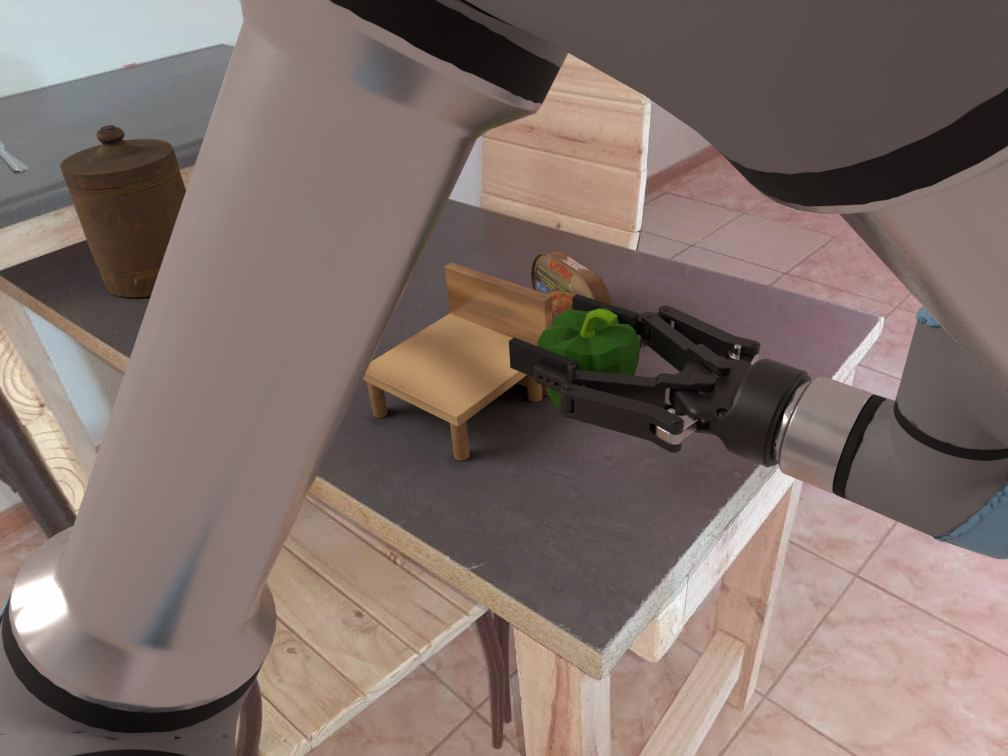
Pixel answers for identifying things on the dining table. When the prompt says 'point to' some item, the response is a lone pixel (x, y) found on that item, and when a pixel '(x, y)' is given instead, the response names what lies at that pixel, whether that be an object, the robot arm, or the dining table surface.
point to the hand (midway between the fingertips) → (544, 329)
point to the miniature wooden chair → (463, 352)
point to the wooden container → (126, 206)
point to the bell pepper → (592, 343)
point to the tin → (565, 281)
